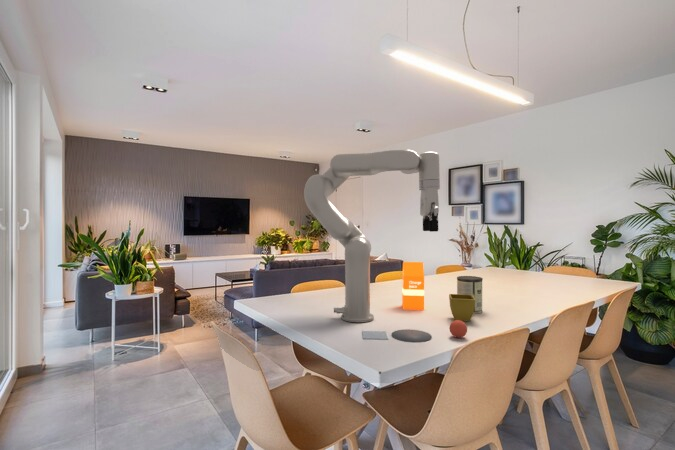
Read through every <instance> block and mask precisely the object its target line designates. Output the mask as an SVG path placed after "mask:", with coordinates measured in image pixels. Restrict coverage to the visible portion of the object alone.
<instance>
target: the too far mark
mask: <svg viewBox="0 0 675 450" xmlns="http://www.w3.org/2000/svg"><path fill="white" fill-rule="evenodd" d="M361 333H362V339H363V340H389V336H388V334H387V332H386V330H381V331H380V330H378V331H376V330H375V331H374V330H372V331H371V330H369V331H368V330H362V331H361Z"/></svg>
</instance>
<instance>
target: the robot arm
mask: <svg viewBox="0 0 675 450" xmlns="http://www.w3.org/2000/svg"><path fill="white" fill-rule="evenodd" d="M392 171H395V172H397V171H400V172H401V173H402V174H405V175H412V174H418V189H419V191H420V198H419V199H420V201H419V202H420V203H419V205H420V207H419V210H420V211H419V214H420V216H421V217H422V231H423V232H431V233H432V232H439V217H438V216H439V211H440V209H439V207H440V206H439V205H440V204H439V201H440V200H439V193H438V192H439V191H438V190H441V186H440V185H441V183H440V181H441V180H440V178H441V177H440V156H439V153H438V152H435V151H426V152H421V153H420V154H418V153H417V152H416V151H415V150H411V149H393V150H384V151H374V152H367V153H366V152H363V153H342V154H341V153H339V154H336V155H334V156H333V157H332V158H331V159H330V163H329V168H328V169H327V170H326V171H325V172H324V173H323V174H321V173H320V174H319V173H318V174H313V175H311V176H310V177H309V178H308V179H307V181H306V183H305V185H304V190H303V198H304V203H305V204H306V207H307V208H308V210H309V211H310V212H311V214H312V215H313V216H314V217H315V218H316V220H317V221H318V222H319V224H321V226H322V227H323V229H325V230H326V231H327V233H328V235H330V236H331V238H332V239H334V240H336V241H338V242H339V243H340V244H341V245H342V247H343V248H344V265H345V266H344V267H345V269H344V270H345V271H344V275H345V276H344V277H345V278H344V279H345V285H344V286H345V289H344V291H345V294H344V295H345V297H344V299H345V300H344V303H345V304H344V305H343V306H342V307H333V313H334V314H335V313H336V314H338V315H339V314H341V315H340V316H341V318H340V319H342V320H343V321H345V322H349V323H367V322H372V321H373V320H374V319H375V315H374V314H372V313H371V310H370V309H371V251H372V244H371V242H370V240H369V239H368V238H367V236H366V235H364V234H363V232H362V231H361V230H360V229H359V228H358V226H357V225H355V223H354V222H353V221H352V220H351V219H350V218H348V217H346V216H344V215H343V214H342V213H341V212H340V211H339V210H338V209H337V208H336V206H335V205H334V204H333V203H332V202H331V200H329V198H328V197H330V195H332V194H333V193H334V192H335V191H337V189H339V188H340V187H341V186H342V184H344V183H345V182H346V181H347V180H348V178H350V177H353V176H354V177H356V176H359V177H360V176H363V177H364V176H375V175H377V174H380V173H385V172H392Z"/></svg>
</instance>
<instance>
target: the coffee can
mask: <svg viewBox="0 0 675 450" xmlns="http://www.w3.org/2000/svg"><path fill="white" fill-rule="evenodd" d="M483 279H484V278H483V277H481V276H474V275H473V276H472V275H460V276H459V275H458V276H457V277H456V287H457V288H456V294H463V295H472V296H473V297H474V298H475V307H474V313H473V314H480V313H483Z"/></svg>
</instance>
